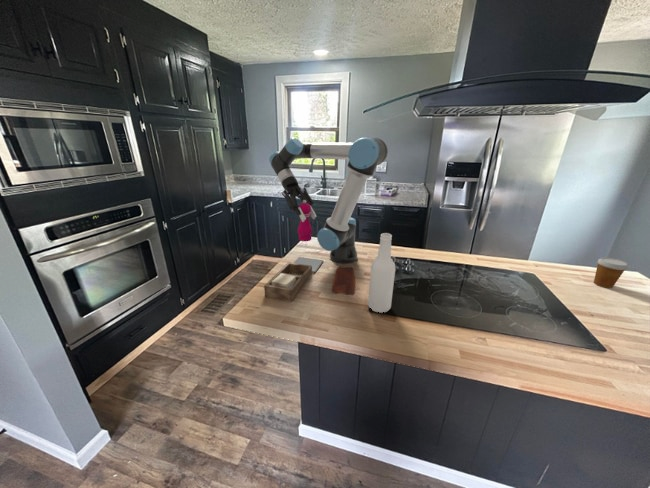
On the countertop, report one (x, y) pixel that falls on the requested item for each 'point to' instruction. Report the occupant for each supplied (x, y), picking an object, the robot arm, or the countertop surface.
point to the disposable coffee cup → (609, 272)
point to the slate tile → (310, 263)
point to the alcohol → (382, 277)
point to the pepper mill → (305, 223)
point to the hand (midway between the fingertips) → (309, 219)
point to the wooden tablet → (344, 281)
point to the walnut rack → (296, 288)
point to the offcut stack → (284, 281)
